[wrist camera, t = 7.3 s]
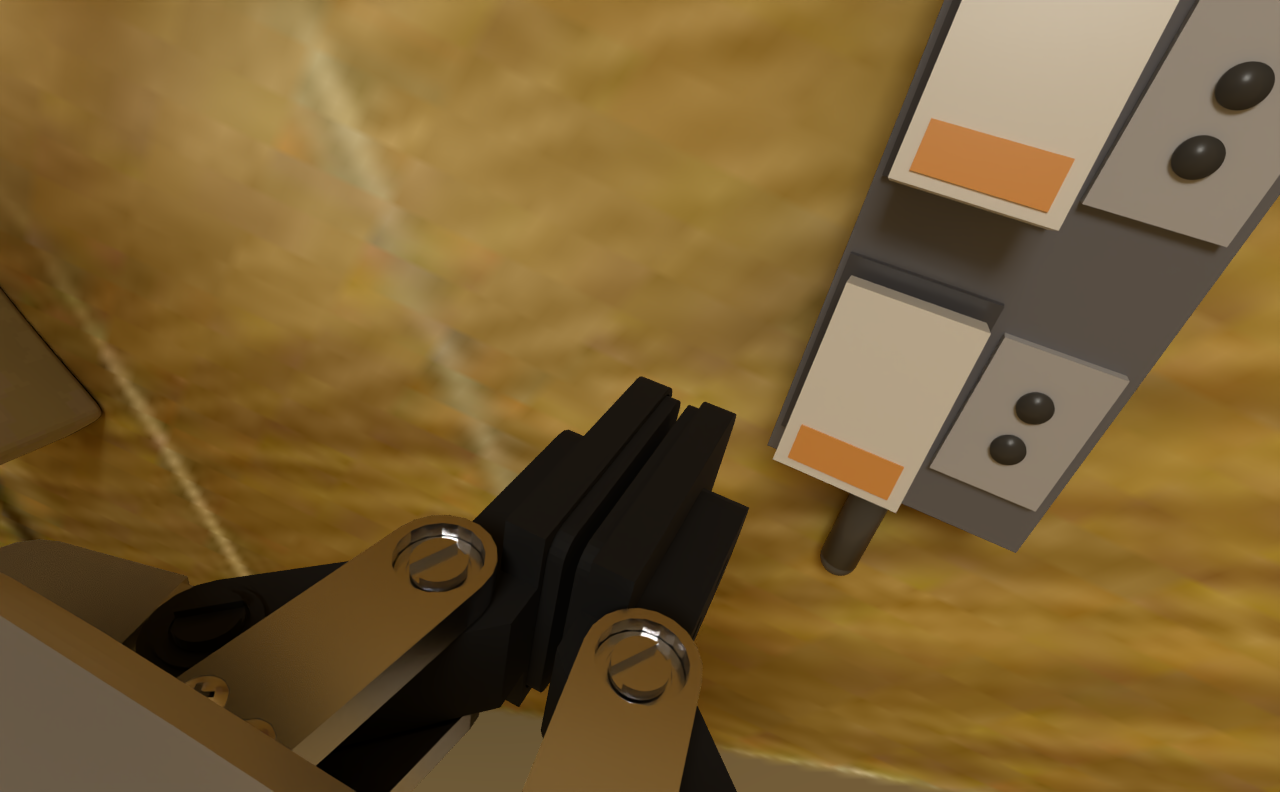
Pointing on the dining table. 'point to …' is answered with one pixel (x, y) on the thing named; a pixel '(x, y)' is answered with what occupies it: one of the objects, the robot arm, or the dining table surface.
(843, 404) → the block
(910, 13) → the dining table surface
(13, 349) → the beige slab
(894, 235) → the power strip
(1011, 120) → the rocker
